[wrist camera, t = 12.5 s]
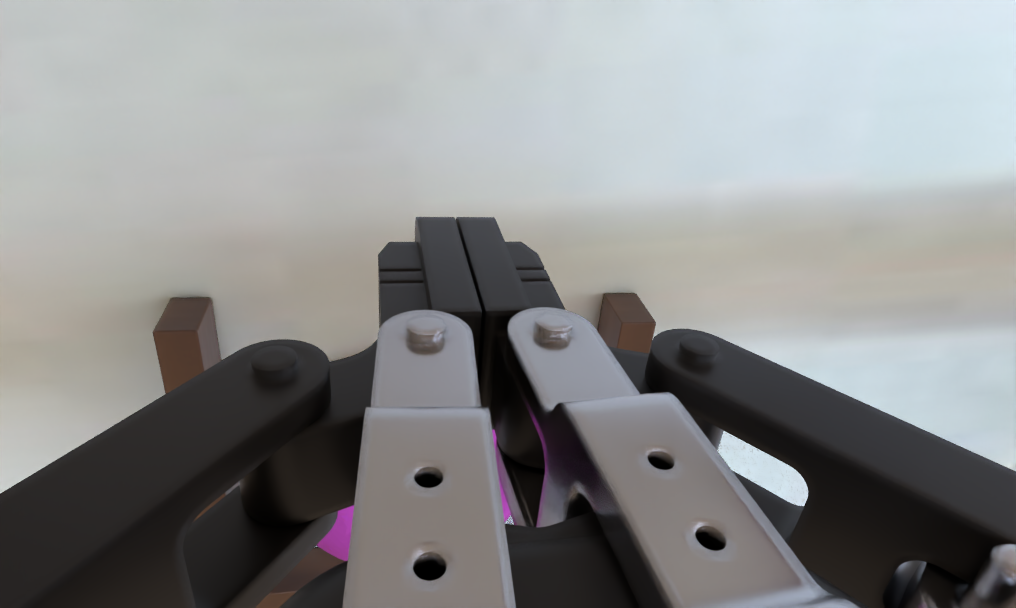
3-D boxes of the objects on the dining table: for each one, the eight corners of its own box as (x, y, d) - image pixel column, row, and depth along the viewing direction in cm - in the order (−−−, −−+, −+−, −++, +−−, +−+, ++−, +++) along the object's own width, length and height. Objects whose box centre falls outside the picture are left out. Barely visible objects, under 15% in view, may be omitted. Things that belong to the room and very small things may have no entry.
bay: (223, 575, 33) (212, 620, 31) (170, 297, 26) (151, 331, 23) (585, 544, 37) (598, 583, 35) (636, 292, 29) (657, 322, 27)
